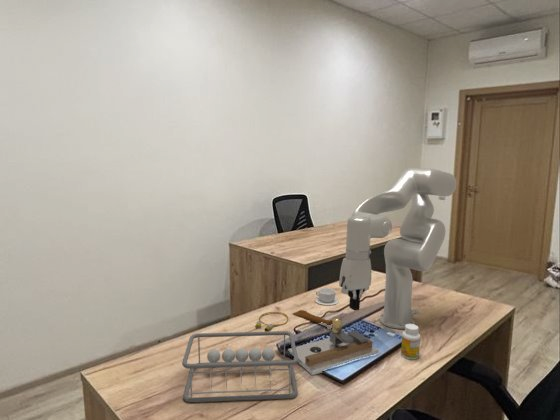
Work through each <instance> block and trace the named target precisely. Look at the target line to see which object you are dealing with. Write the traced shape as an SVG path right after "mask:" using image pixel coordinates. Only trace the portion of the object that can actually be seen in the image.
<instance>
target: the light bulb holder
mask: <svg viewBox="0 0 560 420" xmlns="http://www.w3.org/2000/svg"><path fill="white" fill-rule="evenodd" d="M332 321H333V325H332V329H331V330H332V331H330V332H329V338H330V342H332V343H333V344H335V345H337V344H341V343H343V342H344V343H345V344H346V343H349V342H353V338H352V337H350V336H349V335H347V334H346V332H345V331H342V318H341V317H339V316H334V317H332Z"/></svg>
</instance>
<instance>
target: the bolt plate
mask: <svg viewBox="0 0 560 420" xmlns="http://www.w3.org/2000/svg"><path fill="white" fill-rule="evenodd" d="M345 333H346V332H345ZM346 334H347V335H349V336H350V337H352V338H353V342H349V343H346V344H345V343H344V342H343V343H341V344H337V345H335V344H333V343H332V342H330V337H328V338H324V339H321V340H316V341H312V342H310V343H309V342H308V343H304V344H302V345H297V346H296V350H297V355H298V362H297V363H298V364H299V365H300V366H301V367H302V368H304V369H305V370H306V371H307V373H309V374H310V375H311V376H314V375H315V376H316V375H318V374H322V373H323V372H322V371H323V370H325V369H328V368H331V367H333V366H337V365H340V364H343V363H347V362H349V361H352V360H355V359H359V358H363V357H367V356H370V355H374V354H377V353H380V352H379V351H380V350H379V349H378V348H376V347H374V346H373V341H372V340H371V339H369V338H367V337H366V336H364V335H363V334H361V333H359V332H358V331H357V330H352V331H347V333H346ZM288 351H289V352H290V353H291V354H292V355H293V351H292V347H291V348H287V352H288Z"/></svg>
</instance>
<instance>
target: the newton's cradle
mask: <svg viewBox="0 0 560 420" xmlns="http://www.w3.org/2000/svg"><path fill="white" fill-rule="evenodd" d="M258 336H260V337H261V336H262V337H264V336H283V359H279V360H277V359H276V360H275V359H274V358H275V356H276V353H275V351H274V349H273V348H271V347H265V348H264V349H263V350H260V348H257V347H253V348H251V349H250V350H249V352H248V351H247V349H246V348H238V349H237V351H234V350H233V349H230V348H226V349H225V350H223V352H222V355H221V352H220V351H219V350H218V349H213V348H212V349H210V350H209V351H208V353H207V355H206V358H207V361H208V362H201V352H200V351H201V349H200V348H201V346H200V345H201V344H200V341H201V340H200V338H222V337H223V338H227V337H229V338H230V337H231V338H232V337H258ZM286 336H288V337H289V341H290V345H291V348H292V351H293V356H294V358H293V359H292V360H287V359H286ZM196 338H197V342H198V343H197V346H198V347H197V348H198V362H196V363H188V360H189V356H190V353H191V349H192V346H193V342H194V339H196ZM296 347H297V346H296V343H295V337H294V334H293V333H292V332H290V331H288V330H287V331H286V330H282V331H281V330H277V331H275V330H273V331H271V330H269V332H268V331H241V332H239V331H238V332H236V331H235V332H207V333H206V332H203V333H201V332H200V333H193V334H192V335H191V336H190V337H189V340H188V343H187V345H186V349H185V353H184V355H183V358H182V362H181V365H182V367H183V368H185V369H189V373H188V376H187V380H186V385H185V388H184V391H183V396H182V397H183V400H184V401H185V402H187V403H206V402H207V403H208V402H211V403H212V402H235V401H237V402H239V401H256V400H257V401H258V400H259V401H261V400H283V399H285V400H286V399H293V398H296V397H297V396H298V393H299V391H298V390H299V389H298V386H297V380H296V375H295V370H294V365H296V364H297V363H298V355H297V350H296ZM220 358H222V360H223V361H221V362H220V361H219V360H220ZM234 359H236V360H237V361H234ZM248 359H250V360H248ZM261 359H263V360H261ZM275 366H277V367H278V366H288V368H272V369H271V367H275ZM245 367H247V368H248V367H249V368H251V367H253V368H254V369H245V370H244V369H243V368H245ZM257 367H268V369H267V368H266V369H257ZM215 368H216V369H218V368H220V369H221V368H225V370H218V371H217V370H216V371H215V370H214V369H215ZM229 368H240V370H229ZM195 369H210V371H195ZM242 369H243V370H242ZM279 371H282V372H283V371H289V372H288V375H289V376H288V388H274V389H273V388H272V382H269V387H270V389H247V390H246V389H245V390H243V389H240V390H227V387H228V386H227V385H228V379H225V390H221V391H220V390H218V391H193V382H192V381H193V376H194V375H195V374H196V375H198V374H210V377H214V376H213V374H216V373H217V374H222V373H225V374H226V375H228V374H229V373H240V383H242V380H243V379H242V378H243V377H242V375H243V373H250V372H251V373H255V375H254V378H255V379H254V380H255V381H254V383H255V384H254V385H255V387H257V372H268V373H269V377H271V372H279ZM291 383H292V384H291ZM212 387H213V380H210V390H212ZM291 387H292V388H291ZM291 389H292V390H293V392H292V391H291ZM273 391H274V392H275V391H277V392H278V391H289V392H288V393H276V394H275V393H273V394H271V393H270V394H248V395H226V396H225V395H223V396H199V397H197V396H196V397H193V395H200V394H201V395H203V394H225V393H226V394H227V393H228V394H229V393H253V392H255V393H256V392H273ZM291 392H292V393H291ZM189 393H190V397H189Z"/></svg>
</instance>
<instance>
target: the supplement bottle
mask: <svg viewBox="0 0 560 420" xmlns="http://www.w3.org/2000/svg"><path fill="white" fill-rule="evenodd" d="M420 344H421V335H420V333H419V326H418V325H416V324H415V323H414V324H406V325H405V329H404V331H403V332H402V334H401V350H400V354H401V356H402V357H403V358H404V359H408V360H417V359H419V356H420V348H421V346H420Z"/></svg>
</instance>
